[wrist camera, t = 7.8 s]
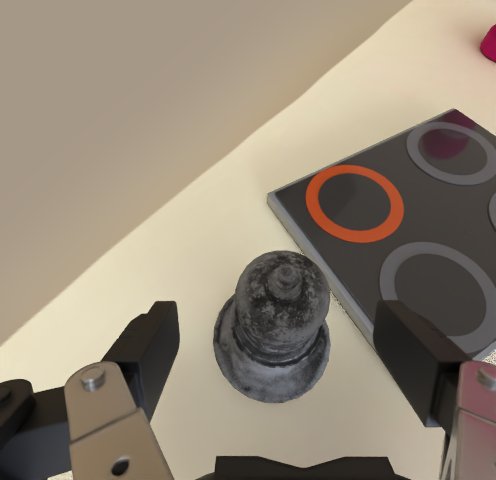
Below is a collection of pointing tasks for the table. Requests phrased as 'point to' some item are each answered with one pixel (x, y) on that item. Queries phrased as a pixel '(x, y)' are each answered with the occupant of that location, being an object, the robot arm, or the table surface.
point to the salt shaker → (275, 328)
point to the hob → (407, 228)
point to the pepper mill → (490, 44)
